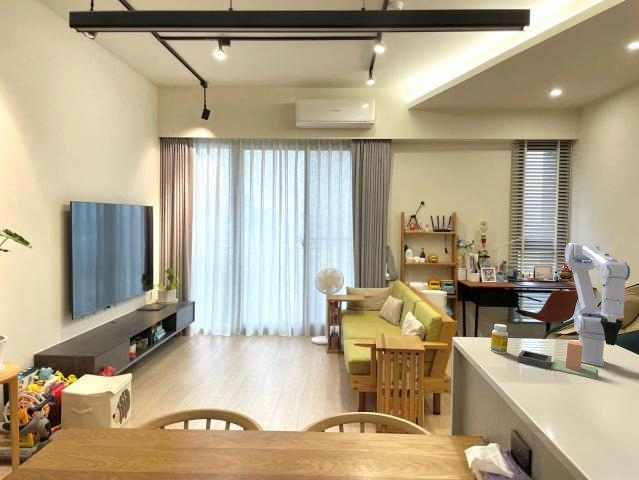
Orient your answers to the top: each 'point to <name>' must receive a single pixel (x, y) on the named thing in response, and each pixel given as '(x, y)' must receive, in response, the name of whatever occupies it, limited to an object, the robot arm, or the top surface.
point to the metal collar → (535, 359)
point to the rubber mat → (584, 371)
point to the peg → (574, 355)
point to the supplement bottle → (499, 339)
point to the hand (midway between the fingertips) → (610, 343)
